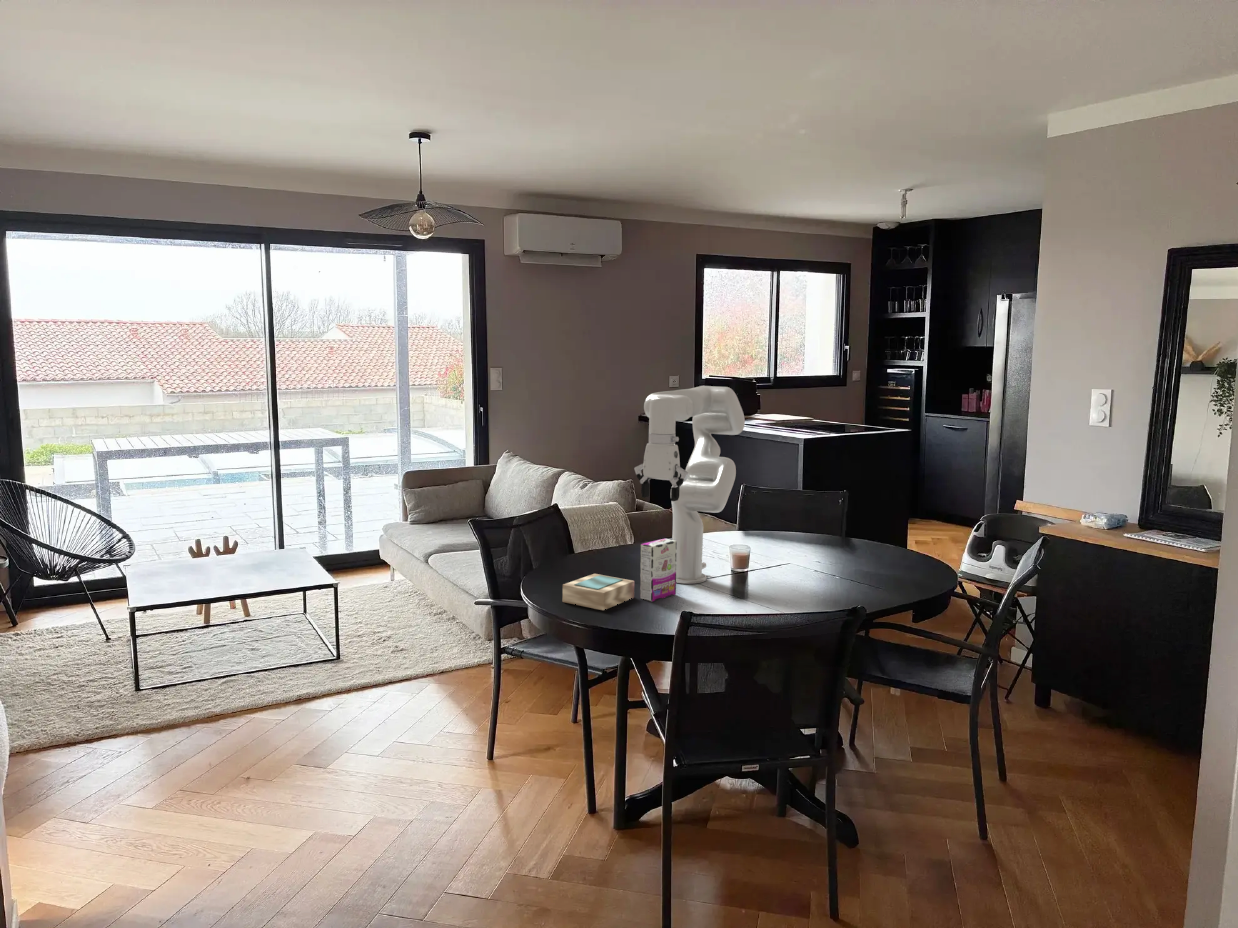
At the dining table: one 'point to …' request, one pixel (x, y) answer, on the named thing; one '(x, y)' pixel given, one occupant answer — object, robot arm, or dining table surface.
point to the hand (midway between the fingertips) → (660, 498)
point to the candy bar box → (658, 569)
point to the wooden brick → (598, 591)
